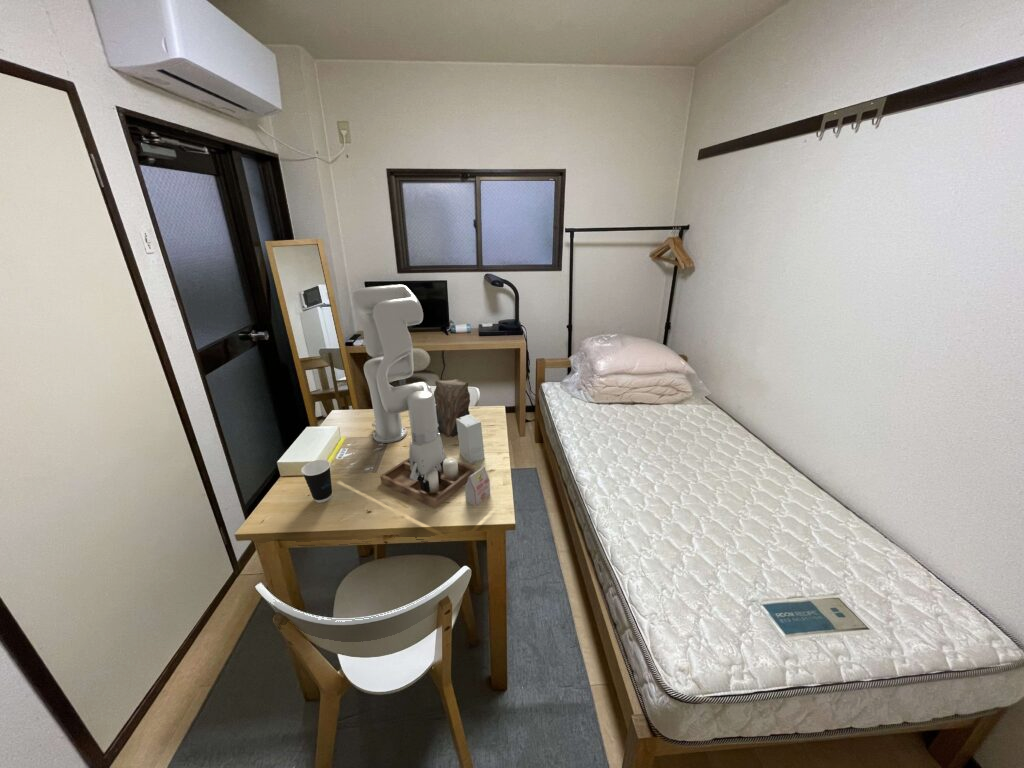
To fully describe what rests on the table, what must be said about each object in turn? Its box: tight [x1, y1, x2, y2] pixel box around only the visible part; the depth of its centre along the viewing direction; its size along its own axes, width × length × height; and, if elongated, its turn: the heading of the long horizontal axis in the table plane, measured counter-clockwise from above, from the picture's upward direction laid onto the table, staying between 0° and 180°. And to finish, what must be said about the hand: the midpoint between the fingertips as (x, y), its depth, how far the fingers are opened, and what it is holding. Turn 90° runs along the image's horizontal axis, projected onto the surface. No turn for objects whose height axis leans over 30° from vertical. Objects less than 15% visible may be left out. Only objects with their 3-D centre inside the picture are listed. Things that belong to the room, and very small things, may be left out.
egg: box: [422, 468, 439, 493], centre depth 122 cm, size 5×5×6 cm
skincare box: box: [456, 413, 486, 464], centre depth 140 cm, size 8×6×15 cm
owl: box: [433, 378, 471, 438], centre depth 159 cm, size 13×13×20 cm
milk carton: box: [464, 465, 491, 507], centre depth 119 cm, size 4×7×10 cm, turn 143°
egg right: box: [443, 456, 459, 481], centre depth 130 cm, size 5×5×6 cm
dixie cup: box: [300, 459, 333, 503], centre depth 122 cm, size 8×8×11 cm
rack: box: [379, 456, 477, 510], centre depth 130 cm, size 23×19×4 cm
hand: (431, 486), depth 123 cm, fingers closed on egg, 4 cm apart
